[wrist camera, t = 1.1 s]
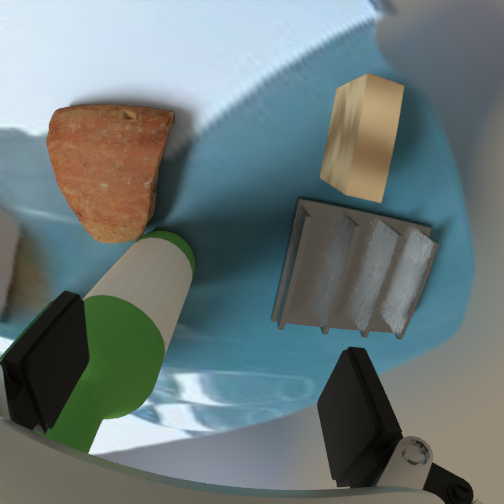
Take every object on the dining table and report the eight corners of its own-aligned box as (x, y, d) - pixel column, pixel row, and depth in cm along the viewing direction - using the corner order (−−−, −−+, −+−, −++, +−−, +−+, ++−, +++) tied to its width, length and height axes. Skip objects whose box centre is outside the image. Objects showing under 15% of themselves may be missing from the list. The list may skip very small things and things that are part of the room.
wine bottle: (182, 217, 33) (18, 478, 5) (207, 279, 36) (143, 554, 8) (123, 239, 34) (-54, 446, 6) (150, 295, 37) (43, 525, 9)
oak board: (336, 88, 28) (368, 72, 19) (364, 96, 28) (404, 85, 20) (319, 177, 32) (345, 194, 23) (347, 183, 32) (381, 203, 23)
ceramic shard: (32, 235, 29) (49, 102, 25) (65, 227, 35) (80, 112, 32) (139, 262, 28) (164, 100, 24) (164, 249, 34) (185, 115, 31)
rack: (297, 197, 33) (303, 205, 29) (427, 225, 34) (444, 236, 30) (271, 316, 38) (273, 335, 34) (390, 328, 39) (401, 345, 35)
